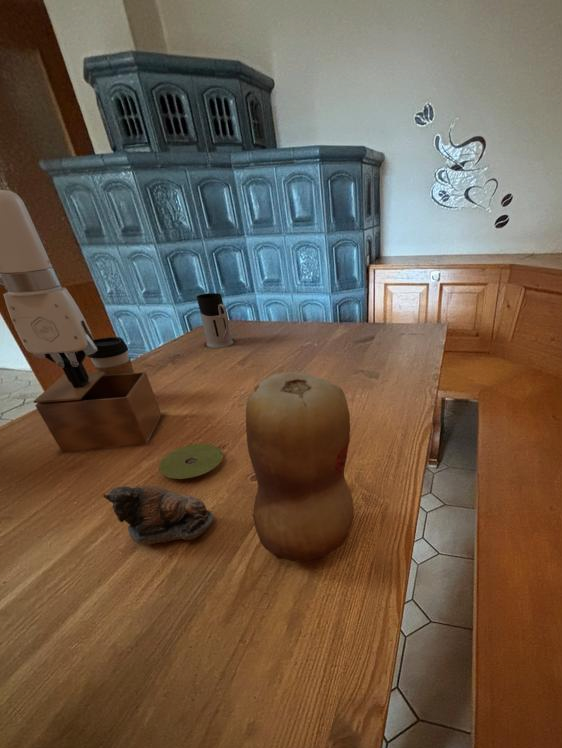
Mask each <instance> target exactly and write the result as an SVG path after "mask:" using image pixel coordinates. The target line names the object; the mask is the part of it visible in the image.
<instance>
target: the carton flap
mask: <svg viewBox="0 0 562 748" xmlns="http://www.w3.org/2000/svg"><path fill="white" fill-rule="evenodd" d="M87 374H88V377H89V381H88V383H87V384H86V385H85V386H84V387H77V388H74V387H73V385H72V383H71V382H69V380H68V378H67V376H66V374H65V373H64V374H62V375H61V377H59V378H58V379H57V380H56V381H55V382H53V383H52V384H51V385H50V386H49V387H48V388H47V389H46V390H44V391H43V392H42V393H41V394H39V396H38V397H37V398H35V399H34V400H33V403H34V404H37V403H43V402H56V401H69V400H81V399H82V398H83V397H84V395H85V394H86V393H87V392H88V391H89V390H90V389H91V388H92V387H93V386H94V385H95V384H96V382H97V381H98V380H99V379H100V378H101V377H102V376H103V375H104V374H105V373H104V372H97V371H94V372H87Z"/></svg>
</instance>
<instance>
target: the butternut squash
mask: <svg viewBox="0 0 562 748" xmlns="http://www.w3.org/2000/svg"><path fill="white" fill-rule="evenodd" d="M245 407H246V408H245V433H246V434H245V435H246V445H247V450H248V457H249V459H250V462H251V465H252V468H253V469H252V470H253V472H254V476H255V479H256V483H257V491H256V495H255V498H254V505H253V513H252V517H253V523H254V528H255V530H256V533H257V536H258V539H259V542H260V544H261V545H262V547H263V548H264V549H265V550H267V552H269V553H270V554H272V555H273V556H274V557H275V558H277V559H279V560H287V561H290V562H307V561H311V560H314V559H319V558H323V557H324V556H326V555H329V554H330V553H332V552H334V551H336V550H337V549H338V548H340V547H341V546H342V545H343V544H344V542H345V541H346V540H347V538H348V536H349V534H350V529H351V527H352V524H353V519H354V511H355V509H354V501H353V496H352V491H351V488H350V487H349V484H348V482H347V480H346V477H345V468H346V463H347V458H348V453H349V446H350V440H351V435H350V434H351V416H350V415H351V414H350V413H351V412H350V410H349V404H348V401H347V398H346V395H345V392H344V390H343V389H342V388H341V387H340V386H338V385H335V384H333V383H332V382H330V380H327V379H325V378H322V377H318V376H315V375H312V374H309V373H305V372H295V371H286V372H279V373H276V374H274V375H273V376H270V377H267V378H265V379H263V380H261V381H260V382H259V383H257V384H256V385H255V387H254V388H253V389H252V391H251V392H250V394H249V396H248V398H247V402H246V406H245Z"/></svg>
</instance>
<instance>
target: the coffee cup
mask: <svg viewBox="0 0 562 748" xmlns="http://www.w3.org/2000/svg"><path fill="white" fill-rule="evenodd" d="M93 343H94V344H95V346H96V347H97V349H98V350H97V351H96V352H95V353H94V354H91V355H88V356H87V357H88V358H90V360H91V362H92V365H93V367H94V369H95V372H104V373H105V374H104V375H114V374H127V373H135V371H134V368H133V367H134V366H133V363H132V360H131V357H130V356H129V354H128V351H129V347H128V345H127V343H126V342H125V340H124V339H123V338H122V337H118V336H108V337H100V338H93Z"/></svg>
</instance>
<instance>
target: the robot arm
mask: <svg viewBox="0 0 562 748" xmlns="http://www.w3.org/2000/svg"><path fill="white" fill-rule="evenodd" d="M0 285H2V286H3V287H4V289H5V290H6V291H7V292H5V293H3V298H4V301H5V305H6V308H7V311H8V314H9V317H10V319H11V322H12V324H13V326H14V330H15V331H16V334H17V335H18V337H19V340H20V341H21V343H22V345H23V347H24V348H25V350H26V351H27V352H29V353H30V354H32V356H33V357H34V358H38V359H45V360H46V359H47V360H49V361H51V362H52V363H54V364H56V366H57V367H58V368H60V369H62V371H63V372H64V374H66V376H67V378H68V380H69V382H71V383H72V385H73V387H74V388H77V387H84V386H85V385H86V384H87V383H88V381H89V377H88V374H87V373H88V372H87V370H86V368H85V366H84V361H85V359H86V357H88V355H91V354H94V353H95V352H96V351H97V350H98V349H97V347H96V346H95V344H94V343H93V340H94V337H93V334H92V330H91V329H90V327H89V325H88V323H87V320H86V319H85V317H84V315H83V313H82V311H81V309H80V307H79V306H78V304H77V303H76V301H75V299H74V297H73V296H72V295H71V293H70V292H69V291H68V289H67V288H66V287H65V286H62V285H61V283H60V281H59V278H58V276H57V274H56V271H55V269H54V266H53V265H52V263H51V260H50V258H49V256H48V254H47V252H46V249H45V247H44V245H43V243H42V240H41V237H40V236H39V233H38V231H37V229H36V227H35V224H34V222H33V219H32V217H31V215H30V213H29V211H28V208H27V207H26V205H25V203H24V201H23V199H22V198H21V196H19V195H18V194H17V193H16V192H14V191H11V190H7V189H0Z"/></svg>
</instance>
